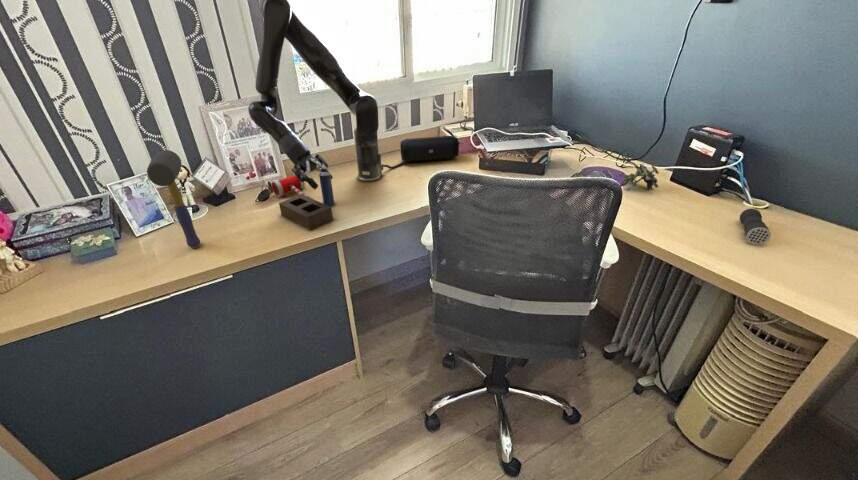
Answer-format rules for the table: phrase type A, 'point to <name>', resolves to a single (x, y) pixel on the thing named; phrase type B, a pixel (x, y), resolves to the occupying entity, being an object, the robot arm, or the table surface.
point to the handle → (326, 188)
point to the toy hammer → (287, 185)
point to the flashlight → (754, 227)
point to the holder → (306, 211)
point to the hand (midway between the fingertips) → (324, 183)
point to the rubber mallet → (173, 190)
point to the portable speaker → (429, 148)
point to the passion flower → (645, 175)
